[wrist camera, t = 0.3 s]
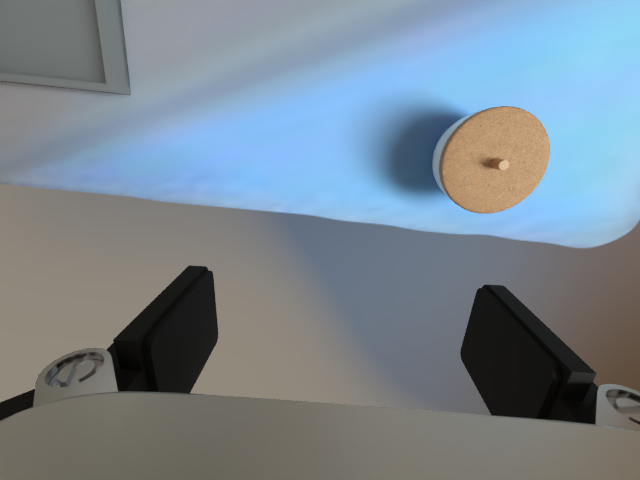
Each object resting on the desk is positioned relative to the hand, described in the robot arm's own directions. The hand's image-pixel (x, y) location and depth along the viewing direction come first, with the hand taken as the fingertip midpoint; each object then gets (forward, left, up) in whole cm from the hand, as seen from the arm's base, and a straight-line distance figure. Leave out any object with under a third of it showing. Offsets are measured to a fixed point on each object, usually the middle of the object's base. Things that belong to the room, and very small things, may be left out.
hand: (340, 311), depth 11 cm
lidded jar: (-4, +16, -31) cm, 35 cm away
